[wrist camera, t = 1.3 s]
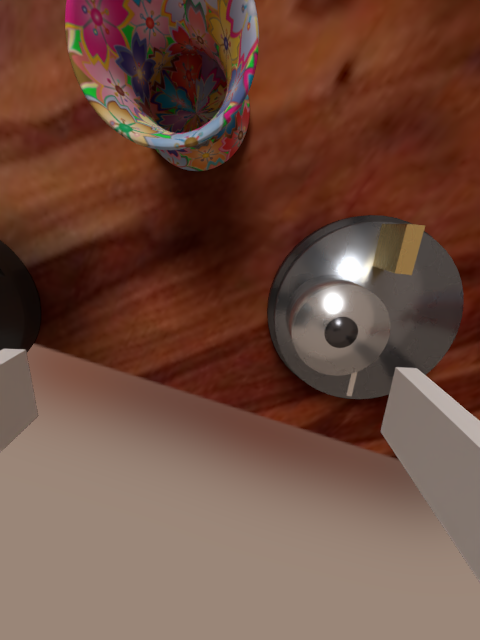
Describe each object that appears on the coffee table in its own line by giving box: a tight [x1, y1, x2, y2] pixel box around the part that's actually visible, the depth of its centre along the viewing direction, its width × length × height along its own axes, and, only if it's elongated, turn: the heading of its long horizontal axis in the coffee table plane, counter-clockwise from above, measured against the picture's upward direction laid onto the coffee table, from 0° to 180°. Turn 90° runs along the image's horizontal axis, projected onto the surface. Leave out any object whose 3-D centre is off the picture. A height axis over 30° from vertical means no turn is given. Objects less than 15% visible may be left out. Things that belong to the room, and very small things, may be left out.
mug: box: [65, 0, 259, 171], centre depth 19 cm, size 12×9×11 cm
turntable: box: [273, 222, 463, 399], centre depth 25 cm, size 16×16×6 cm
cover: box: [286, 275, 390, 376], centre depth 24 cm, size 7×7×5 cm
